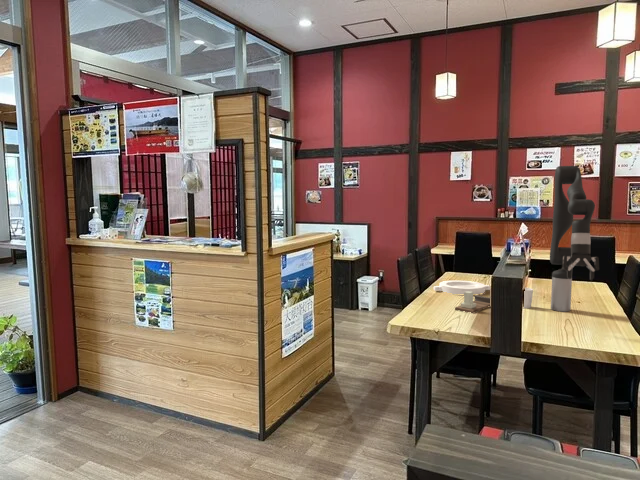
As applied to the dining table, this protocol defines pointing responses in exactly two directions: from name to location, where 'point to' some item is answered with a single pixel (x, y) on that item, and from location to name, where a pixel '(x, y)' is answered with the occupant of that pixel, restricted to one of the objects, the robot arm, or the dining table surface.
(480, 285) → the ring with crossbar
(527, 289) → the white cup
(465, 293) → the block
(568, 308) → the robot arm
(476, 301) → the rail
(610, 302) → the dining table surface
